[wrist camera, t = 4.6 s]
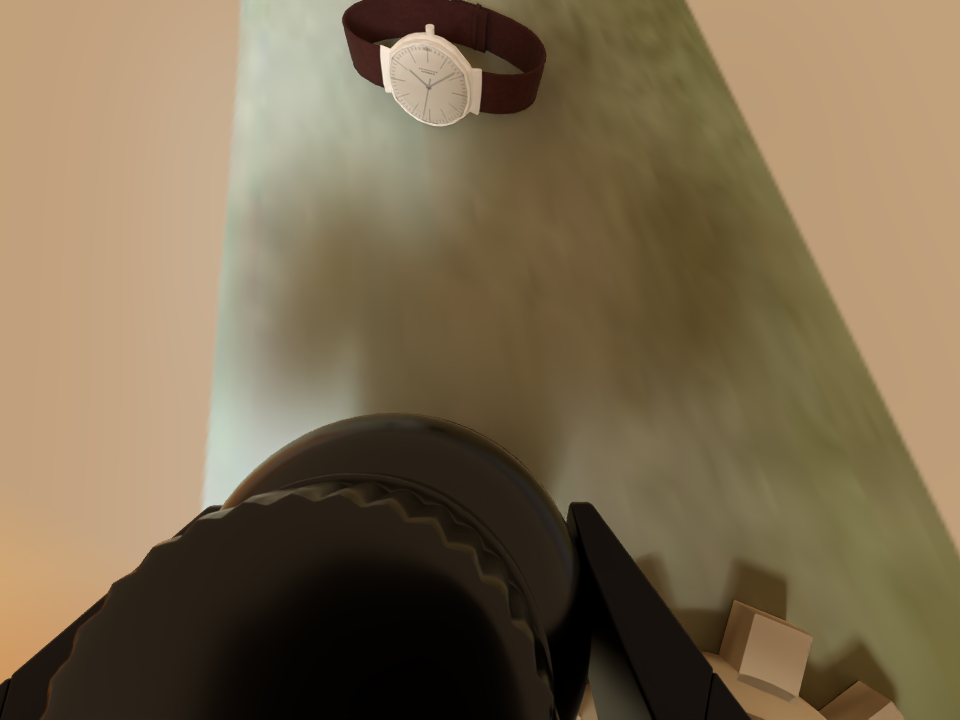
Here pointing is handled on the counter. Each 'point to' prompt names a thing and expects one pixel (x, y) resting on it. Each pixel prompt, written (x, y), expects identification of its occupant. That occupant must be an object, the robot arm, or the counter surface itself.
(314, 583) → the supplement bottle
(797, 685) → the sprocket wheel
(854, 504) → the counter surface
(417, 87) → the watch
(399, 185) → the counter surface
